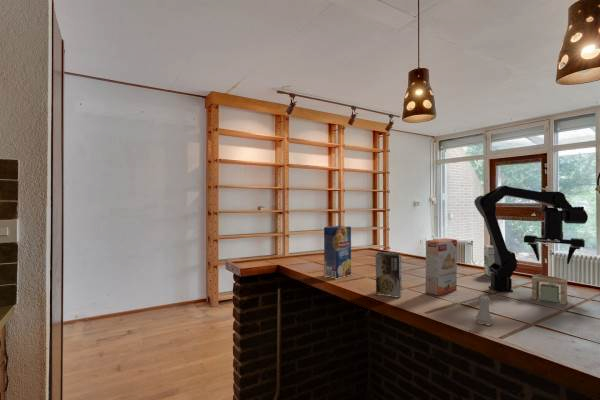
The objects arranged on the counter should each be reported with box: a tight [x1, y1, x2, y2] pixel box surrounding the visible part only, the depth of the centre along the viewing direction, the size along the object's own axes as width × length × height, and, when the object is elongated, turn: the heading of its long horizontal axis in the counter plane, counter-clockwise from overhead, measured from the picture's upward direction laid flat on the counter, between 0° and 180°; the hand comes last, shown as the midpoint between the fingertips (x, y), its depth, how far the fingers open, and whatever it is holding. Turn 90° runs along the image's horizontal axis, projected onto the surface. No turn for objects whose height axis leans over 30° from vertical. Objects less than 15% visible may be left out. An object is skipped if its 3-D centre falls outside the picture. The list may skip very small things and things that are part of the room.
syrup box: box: [483, 244, 495, 278], centre depth 155 cm, size 6×6×14 cm
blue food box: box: [323, 225, 352, 278], centre depth 156 cm, size 12×8×24 cm, turn 137°
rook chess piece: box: [475, 294, 494, 325], centre depth 95 cm, size 4×4×8 cm
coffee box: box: [375, 251, 403, 298], centre depth 125 cm, size 9×6×16 cm
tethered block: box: [539, 282, 560, 303], centre depth 122 cm, size 16×5×6 cm, turn 137°
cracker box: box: [425, 237, 458, 296], centre depth 128 cm, size 14×6×21 cm, turn 126°
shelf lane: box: [531, 274, 568, 305], centre depth 118 cm, size 9×9×8 cm
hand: (552, 262), depth 127 cm, fingers open, 9 cm apart
